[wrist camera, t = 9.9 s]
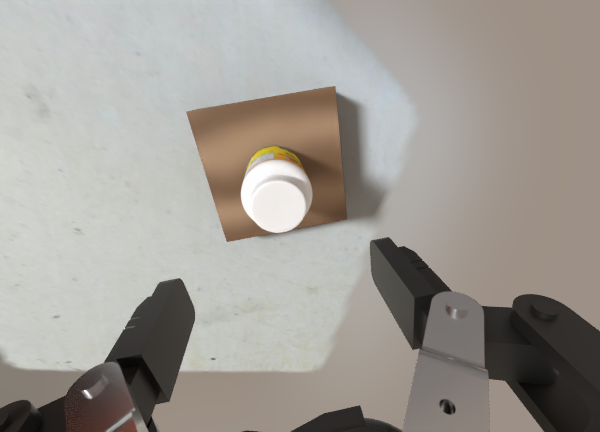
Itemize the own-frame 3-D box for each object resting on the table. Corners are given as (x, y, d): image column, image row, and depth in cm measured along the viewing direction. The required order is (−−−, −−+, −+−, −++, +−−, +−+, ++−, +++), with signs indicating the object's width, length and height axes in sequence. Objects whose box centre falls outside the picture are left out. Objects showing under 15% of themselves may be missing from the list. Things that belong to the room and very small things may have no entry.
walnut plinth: (196, 109, 28) (186, 111, 25) (326, 87, 29) (335, 86, 25) (231, 226, 34) (226, 242, 30) (338, 206, 35) (346, 219, 31)
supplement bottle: (309, 183, 29) (329, 224, 19) (263, 204, 29) (261, 255, 20) (287, 134, 26) (298, 154, 17) (237, 158, 27) (221, 190, 18)
